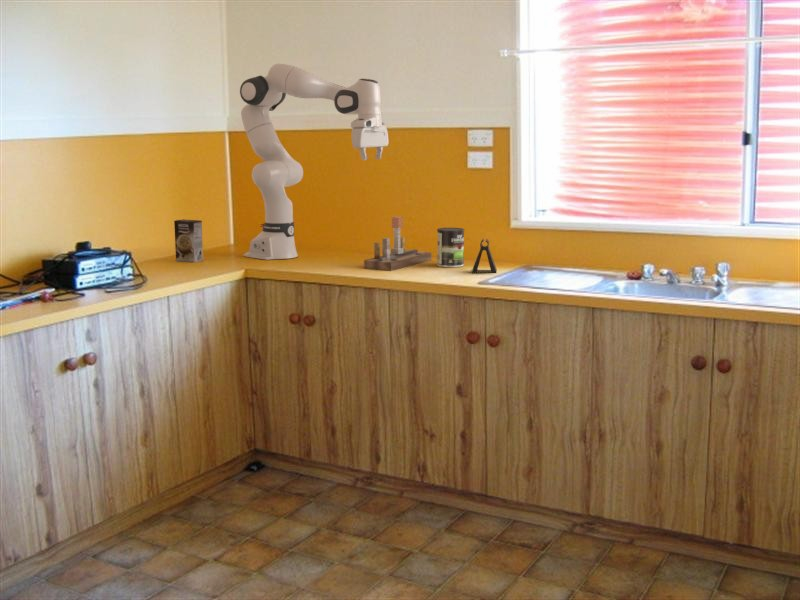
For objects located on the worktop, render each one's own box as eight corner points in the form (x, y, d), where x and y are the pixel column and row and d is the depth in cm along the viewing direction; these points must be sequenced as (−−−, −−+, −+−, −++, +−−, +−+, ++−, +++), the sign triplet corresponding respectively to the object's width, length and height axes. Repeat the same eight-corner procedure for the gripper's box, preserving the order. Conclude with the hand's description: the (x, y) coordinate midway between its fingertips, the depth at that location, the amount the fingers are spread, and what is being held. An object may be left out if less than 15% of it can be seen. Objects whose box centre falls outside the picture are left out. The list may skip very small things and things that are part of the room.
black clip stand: (496, 271, 364) (497, 238, 362) (496, 273, 358) (496, 241, 356) (472, 270, 365) (472, 238, 363) (471, 273, 359) (471, 240, 357)
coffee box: (175, 261, 389) (173, 220, 386) (184, 258, 395) (182, 218, 392) (194, 262, 386) (192, 221, 383) (203, 260, 392) (202, 219, 389)
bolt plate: (364, 268, 371) (364, 239, 369) (405, 257, 396) (405, 230, 394) (391, 270, 365) (391, 241, 363) (431, 260, 390) (431, 232, 388)
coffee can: (469, 265, 376) (469, 229, 373) (450, 268, 370) (450, 231, 367) (450, 262, 384) (451, 226, 381) (431, 265, 377) (431, 228, 374)
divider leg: (391, 253, 378) (390, 217, 375) (396, 252, 381) (396, 216, 379) (398, 254, 376) (397, 217, 374) (403, 252, 380) (403, 216, 377)
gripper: (378, 122, 382) (379, 158, 384) (348, 123, 365) (349, 160, 367) (391, 121, 378) (393, 158, 381) (362, 122, 361) (363, 160, 364)
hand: (371, 159), depth 374 cm, fingers open, 8 cm apart
